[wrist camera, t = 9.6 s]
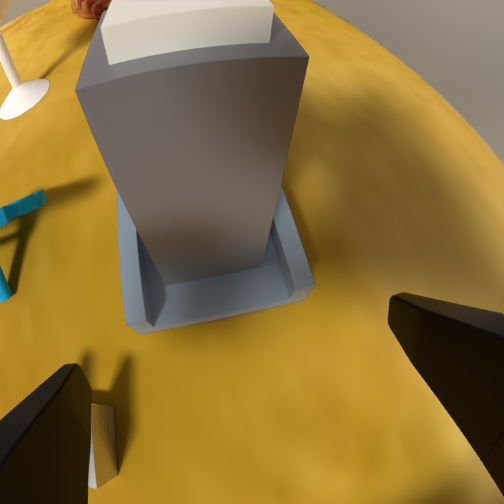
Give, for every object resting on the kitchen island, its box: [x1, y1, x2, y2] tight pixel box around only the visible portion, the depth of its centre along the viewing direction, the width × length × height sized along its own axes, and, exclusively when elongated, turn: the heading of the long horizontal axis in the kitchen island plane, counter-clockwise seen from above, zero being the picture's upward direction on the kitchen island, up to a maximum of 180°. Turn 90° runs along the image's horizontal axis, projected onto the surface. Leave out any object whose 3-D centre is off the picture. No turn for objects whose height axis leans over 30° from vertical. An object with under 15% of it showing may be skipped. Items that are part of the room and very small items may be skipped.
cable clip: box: [88, 403, 118, 489], centre depth 12 cm, size 4×3×3 cm
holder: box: [117, 185, 315, 334], centre depth 17 cm, size 9×9×2 cm
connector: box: [75, 0, 309, 286], centre depth 11 cm, size 5×5×13 cm
